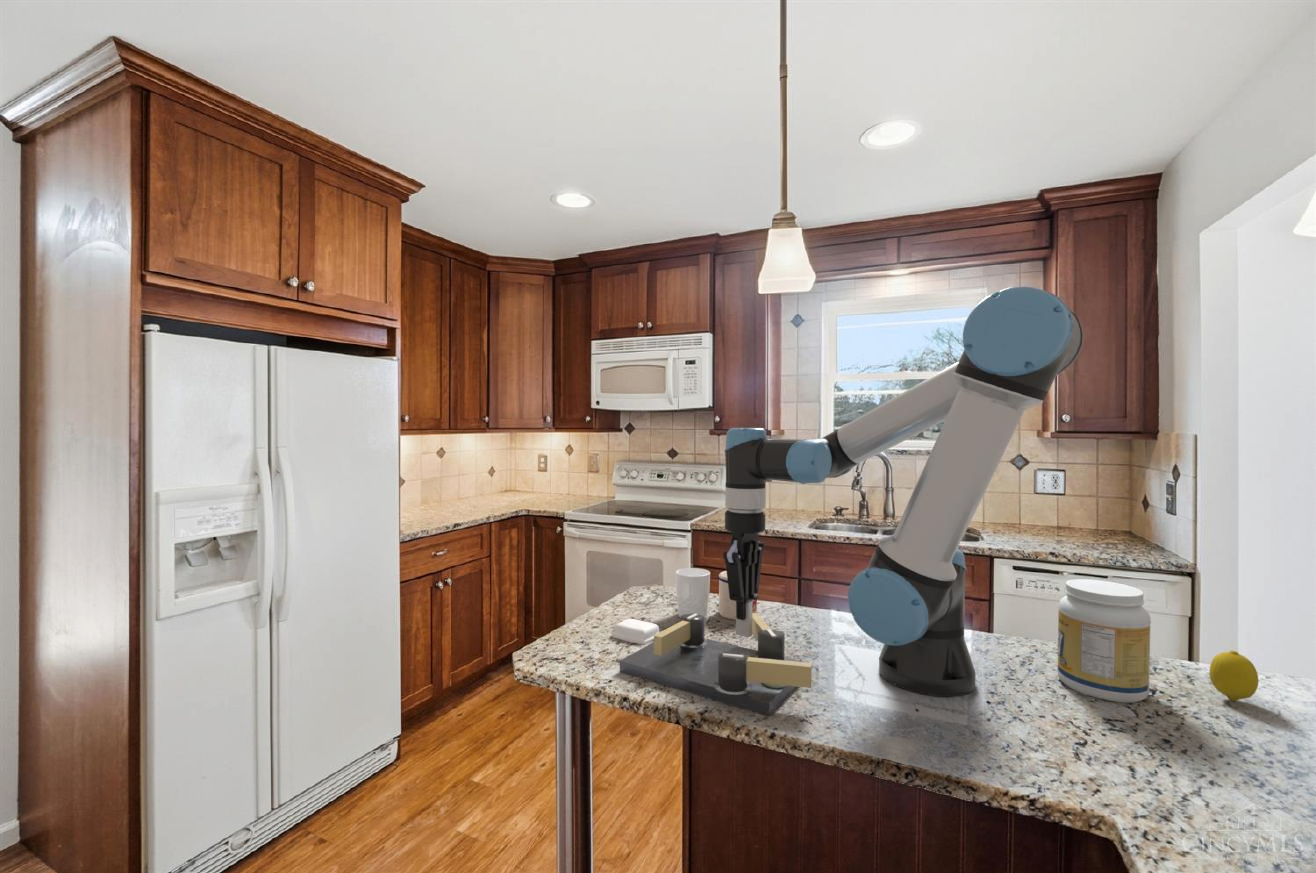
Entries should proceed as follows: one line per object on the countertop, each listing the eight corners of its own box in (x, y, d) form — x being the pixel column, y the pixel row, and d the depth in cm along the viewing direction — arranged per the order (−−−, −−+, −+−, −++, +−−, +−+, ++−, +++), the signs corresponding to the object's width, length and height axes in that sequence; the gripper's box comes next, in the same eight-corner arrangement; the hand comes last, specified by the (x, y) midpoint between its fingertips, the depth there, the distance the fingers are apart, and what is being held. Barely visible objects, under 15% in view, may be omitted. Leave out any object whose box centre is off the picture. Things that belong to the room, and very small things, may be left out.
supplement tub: (1058, 667, 106) (1059, 573, 106) (1145, 684, 99) (1147, 584, 98) (1056, 691, 96) (1057, 588, 96) (1153, 713, 89) (1155, 602, 89)
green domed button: (791, 681, 95) (791, 676, 95) (782, 690, 91) (782, 686, 91) (768, 675, 97) (768, 671, 97) (758, 684, 94) (758, 679, 94)
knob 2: (788, 663, 101) (788, 636, 101) (762, 664, 100) (762, 637, 100) (764, 634, 115) (764, 610, 115) (741, 635, 115) (741, 611, 115)
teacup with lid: (750, 623, 129) (751, 570, 128) (712, 617, 133) (712, 566, 133) (766, 608, 139) (766, 559, 139) (730, 603, 143) (730, 555, 143)
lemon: (1249, 712, 89) (1250, 660, 89) (1202, 697, 94) (1203, 647, 94) (1264, 704, 92) (1265, 653, 92) (1217, 690, 97) (1218, 642, 96)
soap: (663, 636, 121) (663, 623, 121) (645, 647, 115) (645, 632, 115) (628, 628, 126) (628, 615, 126) (608, 638, 120) (608, 624, 120)
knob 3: (716, 689, 91) (716, 659, 91) (720, 676, 96) (720, 648, 95) (811, 699, 88) (811, 668, 88) (810, 686, 92) (811, 656, 92)
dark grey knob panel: (810, 674, 102) (810, 662, 102) (766, 719, 86) (766, 704, 86) (674, 641, 118) (674, 630, 118) (616, 674, 102) (616, 662, 102)
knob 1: (688, 634, 115) (688, 610, 115) (708, 639, 113) (708, 614, 112) (646, 658, 103) (646, 631, 103) (668, 664, 101) (668, 636, 101)
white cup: (673, 620, 131) (673, 575, 130) (677, 609, 138) (678, 567, 138) (708, 622, 129) (708, 577, 129) (711, 611, 137) (711, 568, 137)
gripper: (742, 504, 117) (741, 621, 118) (710, 512, 107) (709, 640, 107) (777, 507, 113) (776, 629, 114) (748, 516, 102) (746, 650, 103)
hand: (743, 634), depth 110 cm, fingers closed
